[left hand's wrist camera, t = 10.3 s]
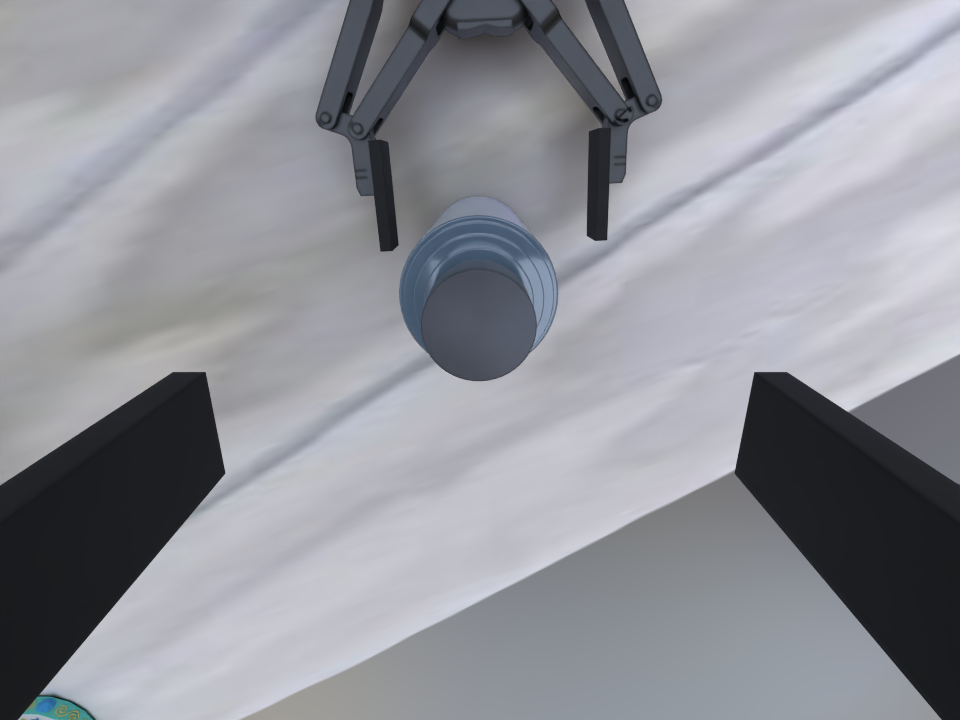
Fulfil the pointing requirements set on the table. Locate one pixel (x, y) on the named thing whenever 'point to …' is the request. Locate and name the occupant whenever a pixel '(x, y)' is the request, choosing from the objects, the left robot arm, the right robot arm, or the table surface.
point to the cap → (478, 321)
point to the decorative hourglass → (53, 710)
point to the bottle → (478, 258)
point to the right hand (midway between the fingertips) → (492, 243)
